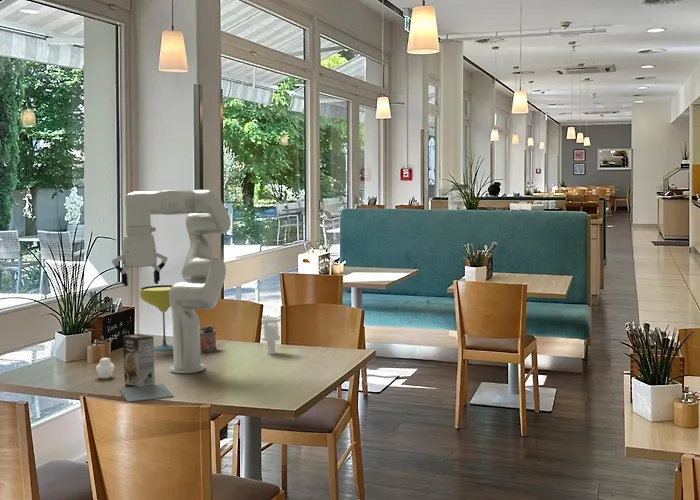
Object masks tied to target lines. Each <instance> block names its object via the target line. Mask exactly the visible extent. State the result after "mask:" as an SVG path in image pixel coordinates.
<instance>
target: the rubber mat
mask: <svg viewBox="0 0 700 500" xmlns="http://www.w3.org/2000/svg"><path fill="white" fill-rule="evenodd" d="M119 391H120V393H121V394H122V397H123V398H124V399H125V401H126V403H135V402H143V401H149V400H151V401H152V400H158V399H159V400H160V399H167V398H174V395H173V393H172V392H171V391H170V389H169V388H168V387H167V386H166V385H165V384H164V383H159V384H152V385H147V386H142V387H137V386H132V387H131V386H130V387H124V388H122V387H121V388H119Z"/></svg>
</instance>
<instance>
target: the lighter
mask: <svg viewBox="0 0 700 500" xmlns="http://www.w3.org/2000/svg"><path fill="white" fill-rule="evenodd" d="M216 334H217V331H216V330H214V325H205V326H200V352H201V353H208V352H212V351H215V350H217V344H216V343H217V339H216V336H217V335H216Z"/></svg>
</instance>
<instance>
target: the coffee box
mask: <svg viewBox="0 0 700 500" xmlns="http://www.w3.org/2000/svg"><path fill="white" fill-rule="evenodd" d="M154 347H155V346H154V336H153V335H147V334H139V333H138V334H128V335H123V336H122V348H123V349H122V350H123V352H122V353H123V368H124V369H123V371H124V372H123V373H124V384H126V385H128V386H132V387H142V386H148V385H156V382H155V381H156V380H155V353H154V352H155V351H154Z"/></svg>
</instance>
